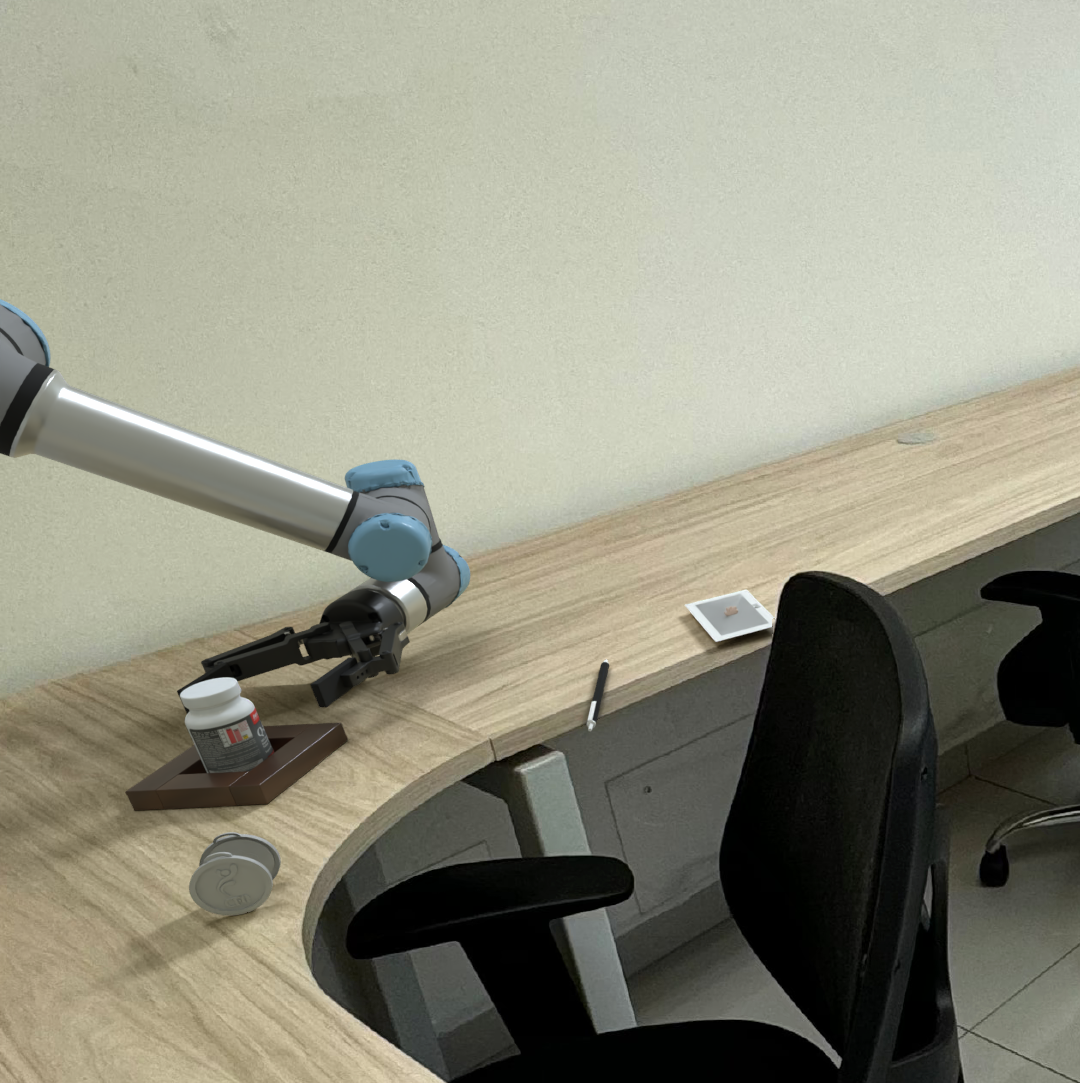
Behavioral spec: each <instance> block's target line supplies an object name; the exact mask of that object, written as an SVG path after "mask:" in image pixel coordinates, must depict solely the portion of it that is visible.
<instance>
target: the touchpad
mask: <svg viewBox="0 0 1080 1083" xmlns="http://www.w3.org/2000/svg"><path fill="white" fill-rule="evenodd" d="M684 606H685V608H686V609H687V610H688V612H690V614H691V615H692V616H693V618H695V620H696V621H697V622H698V623H699V625H701V627H702V628H703V629H704V630H705V631H706V633H707V634H708V635H709V636H710V637H711V638H712V640H713V641H714V642H715V643H718V642H721V641H725V640H729V639H733V638H736V637H740V636H743V635H744V636H745V635H747V634H752V633H755V632H758V631H763V630H767V629H771V628H773V627H772V619H773V618H775V616H774V615H773V614H772V613H771V612H770V611H769V610H768V609H767V608H766V607H765V606H764V605H763V604H762V603H761V602H760V601H759V600H758V599H757V598H756V597H755V596H754V595H753V594H752V593H751V592H750V591H749V590H748V589H742V590H737V591H734V592H730V593H726V594H722V595H718V596H714V597H710V598H706V599H701V600H697V601H693V602H690V603H685V604H684Z"/></svg>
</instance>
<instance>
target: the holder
mask: <svg viewBox="0 0 1080 1083" xmlns="http://www.w3.org/2000/svg"><path fill="white" fill-rule="evenodd" d="M263 727H264V730H265V732H266V735H267V737H268V739H269V741H270V744H271V746H272V748H273V751H274V753H273V754H272V755H271V756H269V757H268V758H267V759H265V760H264V761H263V762H261V763H260V764H259V765H257V766H256V767H255V768H253V769H252V770H251V771H244V772H223V773H207V772H206V770H205V768H204V765H203V763H202V761H201V759H200V757H199V754H198V752H197V750H196V748H195V745H194V744H193V745H192V746H190V747H189V748H187V749H186V750H184V751H183V752H181V753H180V754H179V755H177V756H175V757H174V758H173V759H171V760H169V761H167V763H165V764H163V765H162V766H161V767H159V768H158V769H156V770H155V771H153V772H151V773H150V774H149V775H147V776H146V777H145V778H143V779H141V780H140V781H138V782H137V783H135V784H134V785H133V786H131V787H130V788H128V789H126V791H124V792H125V794H126V797H127V799H128V801H129V803H130V806H131V807H132V809H133V811H150V810H154V811H155V810H176V809H196V808H197V809H199V808H215V807H216V808H218V807H236V806H254V805H255V806H256V805H268V804H269V803H270V802H272V801H273V800H275V799H276V798H277V797H278V796H279V795H281V794H282V793H283V792H284V791H286V790H287V789H288V788H290V787H291V786H292V785H293V784H294V783H296V782H297V781H299V779H301V778H302V777H304V775H306V774H307V773H308V772H310V771H311V770H313V768H315V767H316V766H318V765H319V764H320V763H321V762H322V761H324V760H325V759H327V757H329V756H330V755H331V754H333V753H334V752H335V751H336V750H338V749H339V748H340V747H342V746H343V745H344V744H345V743H346V742H347V741H348V740H349V738H348V736H347V734H346V731H345V728H344V726H343V723H342V722H340V721H339V722H321V723H302V724H301V723H300V724H299V723H297V724H280V725H279V724H278V725H263ZM333 751H334V752H333Z"/></svg>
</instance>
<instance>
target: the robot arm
mask: <svg viewBox="0 0 1080 1083" xmlns="http://www.w3.org/2000/svg"><path fill="white" fill-rule="evenodd" d="M50 349H51V348H50V345H49V342H48V340H47V338H46V336H45V334H44V332H43V331H42V329H41V327H40V326H39V325H38V324H37V323H36V322H35V320H33V319H32V318H31V317H30V315H28V314H27V313H25V312H24V311H22V310H21V309H20V308H19V307H16V306H15V305H13V304H12V303H10V302H8V301H5V300H3V299H2V298H0V454H1V455H4V456H6V457H10V458H13V459H16V458H21V457H23V456H24V457H25V456H27V455H36V456H39V457H42V458H46V459H48V460H51V461H54V462H57V463H61V464H62V465H63V464H64V465H65V466H69V467H72V468H75V469H78V470H81V471H84V472H86V473H89V474H93V475H96V476H99V477H102V478H105V479H108V480H110V481H113V482H117V483H119V484H122V485H124V486H125V485H126V486H129V487H131V488H134V489H138V490H141V491H144V492H147V493H149V494H153V495H155V496H157V497H162V498H164V499H167V500H170V501H172V502H173V501H174V502H176V503H180V504H182V505H185V506H189V507H191V508H193V509H196V510H200V511H202V512H206V513H209V514H211V515H215V516H218V517H221V518H223V519H227V520H230V521H232V522H236V523H239V524H241V525H244V526H247V527H251V528H252V529H253V528H254V529H257V530H260V531H263V532H265V533H269V534H272V535H274V536H277V537H280V538H284V539H286V540H289V541H293V542H294V543H297V544H300V545H304V546H307V547H310V548H313V549H316V550H319V551H322V552H325V553H328V554H331V555H333V556H336V557H339V558H341V559H345V560H348V561H350V562H352V563H353V565H354V566H355V567H356V569H358V571H360V572H361V573H362V574H364V575H365V576H366V577H368V579H366V580H364V581H363V582H362V583H360V584H359V585H357V586H355V587H354V588H353V589H352V588H351V590H349V591H348V592H346V593H345V594H343V595H341V596H340V597H339V598H337V599H335V600H334V601H332V602H331V603H329V604H328V605H327V606H326V607H325V608H324V610H323V612H322V614H321V617H320V620H319V623H317V624H314V625H312V626H311V627H310V628H308V629H305V630H302V631H299V632H295V629H294V627H293V626H285V627H283V628H281V629H279V630H277V631H275V632H273V633H271V634H269V635H267V636H266V635H265V636H264V637H262V638H259V639H256V640H253V641H251V642H248V643H245V644H243V645H240V646H237V647H235V648H232V649H230V650H226V651H224V652H221V653H218V654H216V655H213V656H210V657H208V658H205V659H202V660H201V661H200V663H201V667H202V668H203V671H204V672H205V673H203V674H201V675H200V676H198V677H197V678H195V679H193V680H192V681H190V682H189V683H187V684H185V685H184V686H182V687H181V688H179V689H178V690H176V693H177V695H178V697H179V699H180V702H181V704H182V706H183V709H184V710H185V713H186V715H187V714H188V712H189V709H188V708H186V707H185V706H184V705H183V703H182V700H181V698H180V694H181V692H182V691H183V690H185V689H186V688H188V687H190V686H192V685H194V684H197V683H200V682H203V681H206V680H211V679H215V678H225V677H229V678H234V679H236V680H237V682H240V681H244V680H246V679H250V678H253V677H256V676H260V675H262V674H265V673H269V672H272V671H276V670H279V669H281V668H285V667H288V666H291V665H294V664H296V665H298V666H305V665H308V664H311V663H316V662H318V661H322V660H331V659H342V658H343V657H347V658H345V659H343V661H341V662H340V663H339V664H337V665H335V666H334V667H333V668H331V669H330V670H329V671H327V672H326V673H325V674H323V675H322V676H320V677H319V678H317V679H316V680H314V681H312V683H310V684H309V685H310V688H311V691H312V693H313V695H314V698H315V700H316V703H317V706H318V708H319V709H321V708H323V709H324V708H328V707H330V706H331V705H332V704H333V703H335V702H336V701H337V700H339V699H341V697H343V696H344V695H346V694H347V693H348V692H350V691H351V690H352V689H354V688H355V687H356V686H358V685H360V684H361V683H363V682H364V681H365V680H367V679H371V678H376V677H377V676H379V673H381V672H385V674H386V675H387V676H388V675H395V674H397V673H399V671H400V667H401V661H402V656H403V651H404V650H403V649H405V647H406V646H407V645H409V643H411V642H410V638H409V636H408V634H410V633H411V632H412V631H414V630H415V629H416V628H418V627H419V626H421V625H423V624H424V623H426V622H427V621H428V620H429V619H431V618H432V617H434V616H435V615H437V614H438V613H440V612H441V611H443V610H444V609H447V608H448V607H450V606H451V605H452V604H453V603H454V602H455V601H456V600H457V599H459V598H460V596H462V594H463V593H465V592H466V590H467V589H468V587H469V585H470V581H471V569H470V567H469V564H468V562H467V560H466V559H464V558H463V557H462V556H461V554H460V553H459V551H457V550H456V549H454V548H452V547H450V546H448V545H445V544H443V543H442V542H443V541H442V539H441V538H440V535H439V532H438V529H437V525H436V522H435V519H434V515H433V512H432V509H431V506H430V503H429V498H428V496H427V493H426V490H425V484H424V482H423V481H422V479H421V477H420V474H419V472H418V469H417V467H416V465H415V464H414V463H413V462H412V461H409V460H406V459H397V458H396V459H383V460H377V461H371V462H367V463H363V464H359V465H357V466H354V467H352V468H350V469H349V470H347V471H346V473H345V474H344V481H345V485H346V486H344V485H341V484H338V483H336V482H333V481H330V480H328V479H325V478H322V477H320V476H317V475H315V474H311V473H309V472H306V471H304V470H301V469H298V468H295V467H292V466H290V465H287V464H284V463H281V462H279V461H276V460H273V459H271V458H268V457H265V456H263V455H260V454H257V453H254V452H253V451H248V450H246V449H244V448H240V447H238V446H235V445H232V444H229V443H227V442H224V441H221V440H220V439H216V438H214V437H210V436H207V435H206V434H203V433H200V432H197V431H195V430H192V429H190V428H187V427H185V426H181V425H179V424H175V423H173V422H170V421H167V420H164V419H162V418H159V417H157V416H154V415H151V414H148V413H146V412H143V411H140V410H137V409H135V408H132V407H130V406H127V405H124V404H122V403H118V402H117V401H113V400H110V399H107V398H104V397H102V396H99V395H96V394H94V393H91V392H88V391H85V390H83V389H81V388H80V389H79V388H77V387H75V386H73V385H70V384H69V383H68V382H67V380H66V379H65V378H64V376H63V374H62V373H61V371H60V370H58V369H56V368H52V367H50V366H51V350H50ZM301 645H303V646H304V649H305V651H306V654H307V655H306V656H303V653H302V651H301V649H300V648H301ZM348 656H350V657H348Z"/></svg>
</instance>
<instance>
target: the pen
mask: <svg viewBox="0 0 1080 1083" xmlns="http://www.w3.org/2000/svg"><path fill="white" fill-rule="evenodd" d="M609 669H610V664H609V660H608V659H607V658H606V659H604V660H603V661H602V662H601V664H600V666H599V670H598V675H597V680H596V683H595V687H594V692H593V695H592V701H591V704H590V708H589V712H588V716H587V720H586V727H587V728H588V729H587V731H588V732H589V733H590V732H592V731H593V729H595V728H596V727H597V722H598V718H599V713H600V709H601V704H602V699H603V696H604V690H605V687H606V682H607V678H608V674H609Z"/></svg>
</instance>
